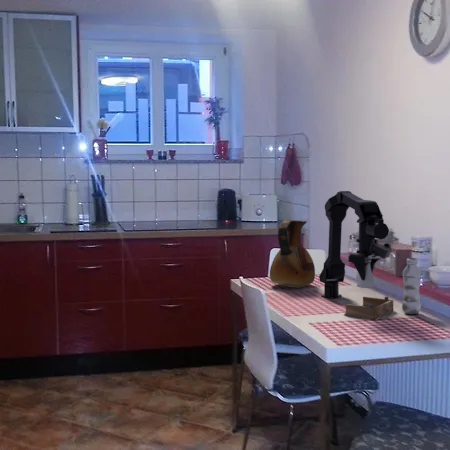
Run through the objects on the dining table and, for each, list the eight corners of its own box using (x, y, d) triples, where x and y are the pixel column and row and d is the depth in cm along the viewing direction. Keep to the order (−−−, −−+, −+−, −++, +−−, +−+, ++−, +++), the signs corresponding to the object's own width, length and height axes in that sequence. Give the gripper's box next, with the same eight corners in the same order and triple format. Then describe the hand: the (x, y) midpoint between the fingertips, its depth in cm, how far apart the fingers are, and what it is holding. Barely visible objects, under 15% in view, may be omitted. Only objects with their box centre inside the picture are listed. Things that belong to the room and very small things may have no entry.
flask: (353, 285, 232) (354, 258, 231) (373, 284, 233) (373, 257, 232) (359, 289, 225) (359, 261, 224) (379, 288, 225) (379, 260, 224)
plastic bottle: (420, 312, 229) (421, 257, 227) (420, 316, 223) (421, 260, 221) (402, 311, 231) (403, 257, 229) (401, 315, 225) (402, 259, 223)
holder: (362, 306, 239) (363, 293, 239) (393, 310, 232) (393, 297, 232) (344, 315, 226) (344, 301, 225) (375, 319, 219) (376, 305, 218)
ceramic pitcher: (322, 284, 283) (322, 218, 280) (302, 292, 266) (302, 222, 263) (283, 281, 293) (282, 216, 290) (262, 288, 276) (261, 220, 273)
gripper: (378, 240, 215) (377, 285, 216) (398, 234, 230) (397, 277, 231) (347, 238, 221) (347, 282, 223) (369, 233, 236) (368, 274, 238)
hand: (366, 279), depth 228 cm, fingers closed on flask, 5 cm apart
